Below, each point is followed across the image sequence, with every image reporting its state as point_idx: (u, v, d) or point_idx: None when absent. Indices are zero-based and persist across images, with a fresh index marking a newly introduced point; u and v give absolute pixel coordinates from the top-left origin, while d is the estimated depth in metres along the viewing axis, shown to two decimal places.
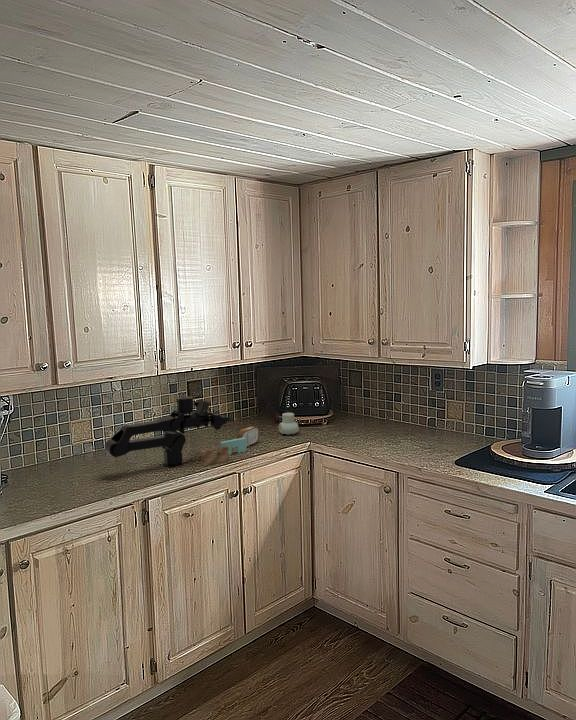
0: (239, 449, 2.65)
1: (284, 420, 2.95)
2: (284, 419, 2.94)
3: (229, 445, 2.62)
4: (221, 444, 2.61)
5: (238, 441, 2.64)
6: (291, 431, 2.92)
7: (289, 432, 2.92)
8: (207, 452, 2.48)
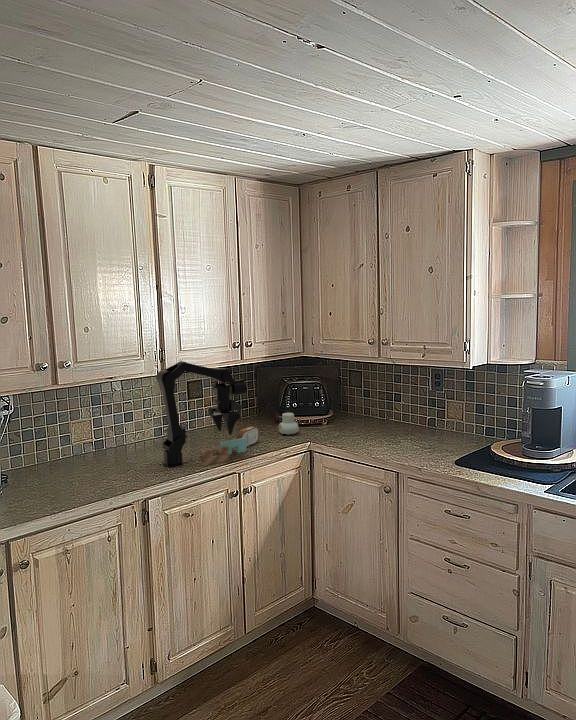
0: (239, 449, 2.65)
1: (284, 420, 2.95)
2: (284, 419, 2.94)
3: (229, 445, 2.62)
4: (221, 444, 2.61)
5: (238, 441, 2.64)
6: (291, 431, 2.92)
7: (289, 432, 2.92)
8: (207, 452, 2.48)
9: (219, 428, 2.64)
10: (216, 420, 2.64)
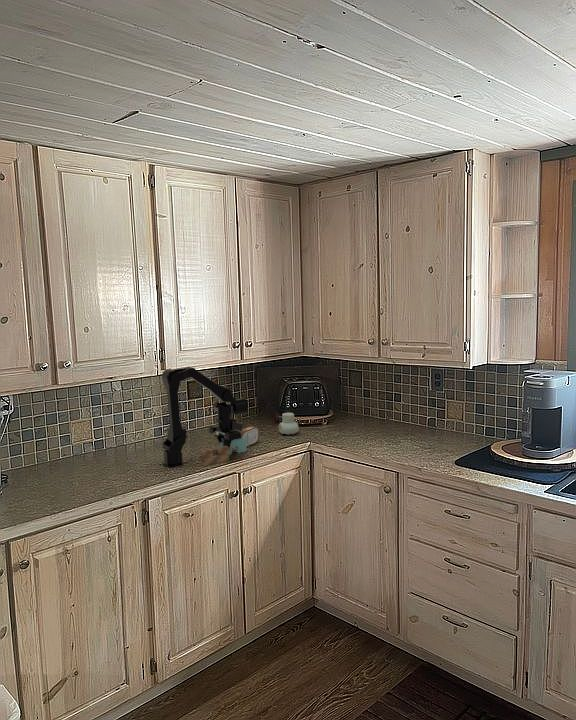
0: (239, 449, 2.65)
1: (284, 420, 2.95)
2: (284, 419, 2.94)
3: None
4: (221, 444, 2.61)
5: (238, 441, 2.64)
6: (291, 431, 2.92)
7: (289, 432, 2.92)
8: (207, 452, 2.48)
9: None
10: (221, 440, 2.62)
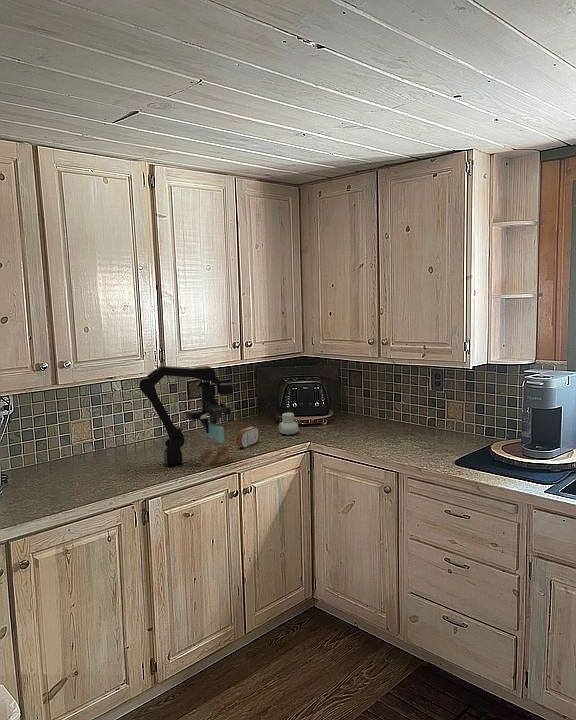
0: (215, 436, 2.48)
1: (284, 420, 2.95)
2: (284, 419, 2.94)
3: (209, 428, 2.51)
4: None
5: (214, 428, 2.47)
6: (291, 431, 2.92)
7: (289, 432, 2.92)
8: (207, 452, 2.48)
9: None
10: (210, 420, 2.55)
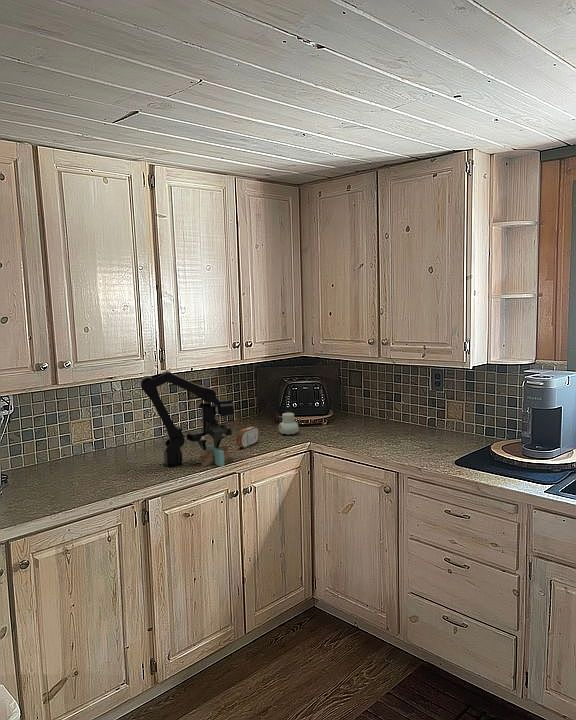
0: (215, 460, 2.49)
1: (284, 420, 2.95)
2: (284, 419, 2.94)
3: None
4: None
5: (214, 451, 2.49)
6: (291, 431, 2.92)
7: (289, 432, 2.92)
8: (207, 452, 2.48)
9: None
10: (214, 440, 2.56)
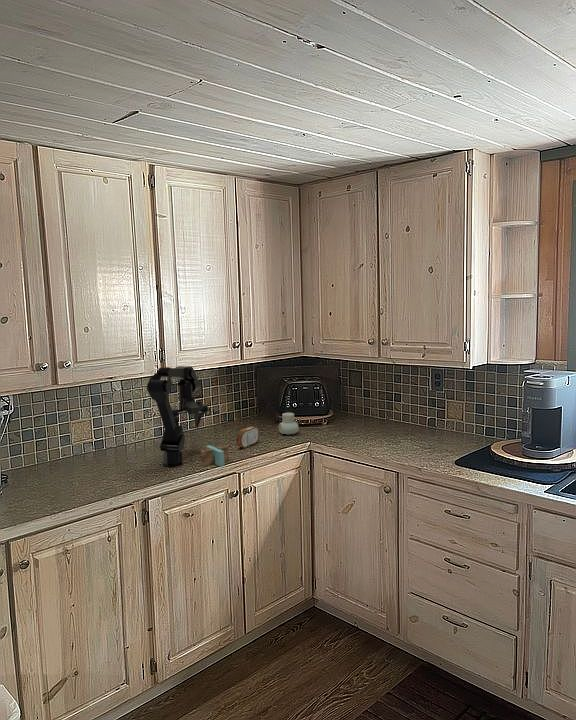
0: (215, 460, 2.49)
1: (284, 420, 2.94)
2: (284, 419, 2.94)
3: None
4: None
5: (214, 451, 2.49)
6: (291, 431, 2.92)
7: (289, 432, 2.92)
8: (207, 452, 2.48)
9: (196, 425, 2.66)
10: (195, 416, 2.67)
